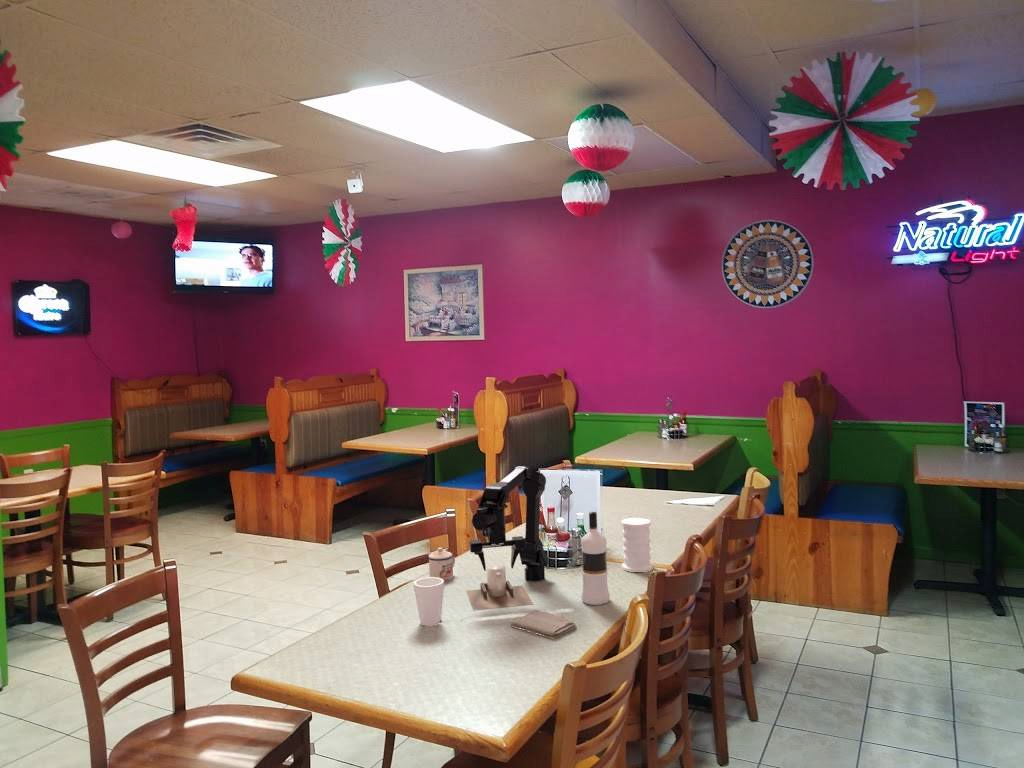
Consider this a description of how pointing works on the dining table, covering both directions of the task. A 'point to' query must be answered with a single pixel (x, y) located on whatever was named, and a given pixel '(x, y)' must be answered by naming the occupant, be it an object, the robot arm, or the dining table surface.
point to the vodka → (594, 565)
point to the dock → (498, 598)
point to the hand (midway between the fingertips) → (498, 569)
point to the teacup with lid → (441, 564)
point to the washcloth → (544, 623)
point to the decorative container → (636, 545)
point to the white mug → (496, 580)
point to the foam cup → (429, 599)
